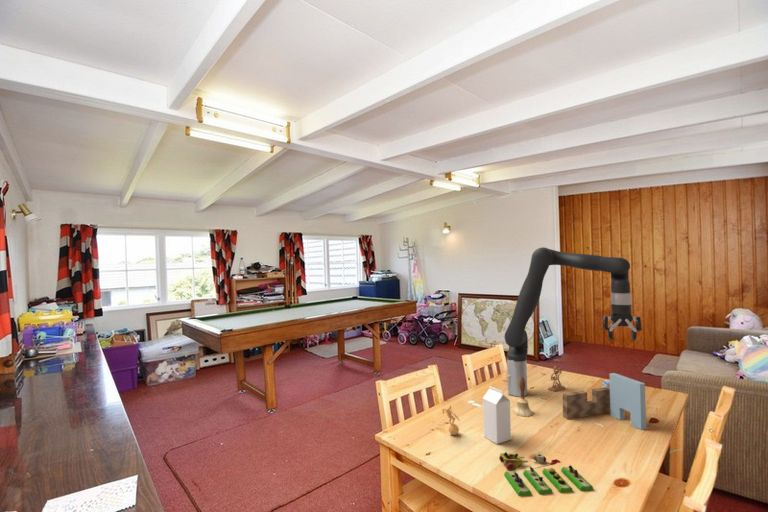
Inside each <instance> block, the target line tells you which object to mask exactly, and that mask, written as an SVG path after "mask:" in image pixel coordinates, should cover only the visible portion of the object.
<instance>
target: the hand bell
mask: <svg viewBox="0 0 768 512" xmlns="http://www.w3.org/2000/svg"><path fill="white" fill-rule="evenodd" d="M519 387H520V390H521V397H520V398H518V399H517V401H516V405H515V407H514V408H513V409H512V412H513V414H515V415H516V416H520V417H531V416H533V415H534V413H533V411H532V410H531V408H530V406H529V401H528V399H526V397H525V396H524V390H525V380H524V377H522V376H521V377H520V381H519Z"/></svg>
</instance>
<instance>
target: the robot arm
mask: <svg viewBox="0 0 768 512" xmlns="http://www.w3.org/2000/svg"><path fill="white" fill-rule="evenodd" d="M550 266H566V267H571V268H576V269H580V270H585V271H592V272H593V271H595V272H606V273H610V279H611V283H610V287H611V288H610V290H611V291H610V293H611V295H610V308H611V309H610V311H611V315H610V316H607V315H603V317H602V329H604V330H605V331H607V337H608V339H609V340H610V341H613V340H614V331H613V330H614V329H615V328H616V327H628V328H629V329H630V330H631V332H630V334H631V337H630V338H631V341H633V342H634V341H636V340H637V332H639V331H642V321H641V316H638V315H635V316H632V296H631V283H630V280H629V271H630V268H631V263H630V261H628V259H626V258H623V257H616V256H615V257H614V256H613V257H611V256H602V255H597V254H586V253H575V252H574V253H572V252H571V253H570V252H564V251H558V250H554V249H551V248H548V247H538V248H537V249H535V250H534V251H533V252H532V255H531V259H530V264H529V269H528V273H527V275H526V277H525V280H524V281H523V284H522V287H521V289H520V291H519V294H518V298H517V300H516V304H515V307H514V311H513V314H512V317H511V319H510V322H509V324H508V326H507V328H506V330H505V332H504V342H505V343H506V345H507V346H508V350H507V353H506V361H507V362H506V363H507V364H506V365H507V366H506V368H507V372H506V376H507V377H506V379H507V380H506V382H507V384H506V385H507V387H506V388H507V394H508V396H514V397H520V398H521V390H520V387H519V381H520V377H521V376H522V377H524V380H525V390H524V396H528V372H527V371H528V367H527V364H528V363H527V356H528V347H529V346H528V345H529V344H528V343H529V341H528V339H529V338H528V333H527V330H526V327H527V324H528V322H529V321H530V318H531V317H532V315H533V313H534V312H535V310H536V309H537V307H538V304H539V300H540V298H541V294H542V290H543V282H544V278H545V276H546V274H547V271H548V269H549V267H550ZM610 320H611V321H612V322H611V323H610V324H609V322H610ZM632 321H634V323H635V326H634V325H633V323H632Z"/></svg>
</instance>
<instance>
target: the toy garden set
mask: <svg viewBox="0 0 768 512" xmlns="http://www.w3.org/2000/svg"><path fill="white" fill-rule="evenodd" d="M498 459H499V460H500V462H503V464H504V465H505V467H506V470H507V471H505V472H504V474H503V476H504V477H505V479H506V480H507V482H508V483H509V485H510V486H511V488H512V489H513V491H514V492H515V493H516V494H517V496H518V497H522V496H523V497H524V496H532V490H531V489H529V487H528V486H527V484H526V483H525V482H524V480H523V479H522V478H521V477H520V476H519V473H518V472H517V471H516V470H515V468H518V467H519V466H520V465H521V463H528V462H529V461H528V459H527V460H524V459H525V456H519V454H518V453H508V452H506V451H505V452H500V453H499V458H498ZM531 459H532V460H534V461H535V463H537V464H538V465H541V466H538V467H532V466H529V470H527V469H525V470H523V472H522V475H523V476H524V477H525V479H526V480H527V481H528V482H529V483H530V485H531V486H532V487H533V489H534V490H535V491H536V493H537V494H539V495H547V494H548V495H550V494H552V493H553V489H552V488H551V487H550V486H549V485H548V484H547V482H546V481H545V479H544V478H543V476H544V477H545V478H546V479H547V480H548V481H549V482H550V483H551V484H552V485H553V487H554V488H555V489H556V490H557V491H558V492H559V493H560V494H561V493H570V492H572V493H573V487H571V486H570V485H569V483H568V482H567V481H566V480H565V479H564V478H563V477H562V476H561V475H560V474H559V473H558V472H557V471H556V469H554V468H553V467H550V468H543V467H548V466H553V465H556V464H558V463H559V464H561V460H559V459H557V458H556V459H551V462H549V463H547V464H545V463H546V462H547V457H546V456H544V454H542V453H535V454H532V455H531ZM543 464H544V465H543ZM541 468H543V469H542V474H543V476H540V474H539V473H538V472H537V471H536V470H535V469H541ZM560 469H561V470H560V472H561V473H562V474H563V475H564V476H565V477H566V478H567V479H568V480H569V481H570V482H571V483H572V484H573V485H574V486H575V488H576V489H578V490H579V491H580V492H582V491H583V492H585V491H593V490H594V487H593V485H591V484H590V482H588V481H587V480H586V479H585V478H584V476H582V475H581V474H580V473H579V472H578V470H577V469H575V468H574V467H573V466H572V465H571V464H570V465H569V466H563V467H561V468H560Z"/></svg>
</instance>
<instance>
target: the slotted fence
mask: <svg viewBox="0 0 768 512" xmlns="http://www.w3.org/2000/svg"><path fill="white" fill-rule="evenodd" d="M606 413H611V411H610V387H598V388H591V400H588V392H587V391H584V390H578V391H572V392H570V391H569V392H565V393H562V417H563V418H564V419H566V420H571V419H577V418H578V419H579V418H583V417H588V416H589V417H590V416H595V415H599V414H601V415H602V414H606Z"/></svg>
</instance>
